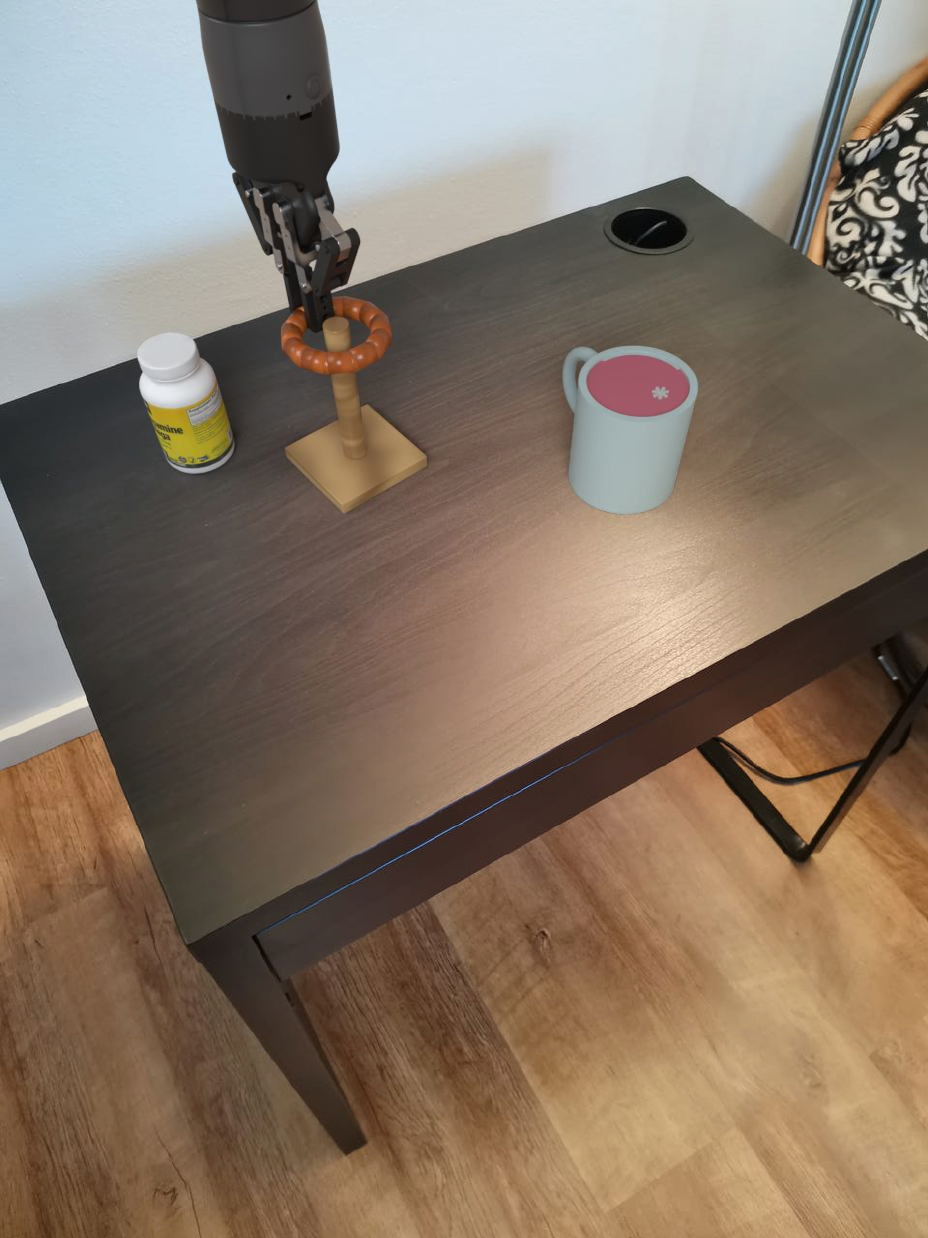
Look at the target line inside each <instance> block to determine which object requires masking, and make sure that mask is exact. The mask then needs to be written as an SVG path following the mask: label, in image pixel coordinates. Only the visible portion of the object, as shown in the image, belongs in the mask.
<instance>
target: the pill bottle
mask: <svg viewBox="0 0 928 1238" xmlns="http://www.w3.org/2000/svg"><path fill="white" fill-rule="evenodd" d="M136 355H137V361H138V364H139V366H140V369H141V371H142V373H141V375H140V377H139V386H138V387H139V392H140V395H141V397H142V400H143V403H144V405H145V408H146V410H147V413H148V415H149V419H150V420H151V424H152V426H153V429H154V432H155V434H156V436H157V439H158V442H159V444H160V447H161V451H162V453H163V454H164V456H165V459H166V461H167V462H168V463H169V465H170V466H171V467H173V469H176V470H177V471H179V472H182V473H185V474H190V475H191V474H192V475H193V474H194V475H195V474H204V473H208V472H212V471H214V470H217V469H218V468H221V466H223V465H224V464H225V463H227V462H228V461H229V460H230V458H231V457H232V455H233V454H234V452H235V451H234V450H235V438H234V434H233V431H232V427H231V423H230V419H229V417H228V413H227V410H226V406H225V403H224V400H223V396H222V393H221V390H220V386H219V383H218V379H217V376H216V374H215V371H214V369H213V367H212V365H210V363H209V362H207V361H206V359H204V358H202V357H201V356H200V352H199V349H198V346H197V343H196V341H195V340H194V339H193V338H192V337H191V336H189V335H187V334H186V333H185V334H184V333H181V332H174V331H173V332H172V331H171V332H169V331H168V332H163V333H158V334H156V335H153V336H151V337H149V338H148V339H147V338H146V340H145V341H143V342H142V344H140V346H139V347H138V349H137V354H136Z"/></svg>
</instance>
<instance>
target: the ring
mask: <svg viewBox="0 0 928 1238" xmlns="http://www.w3.org/2000/svg"><path fill="white" fill-rule="evenodd" d="M332 301H333V307H334V314H335V317H343V318H345V319H347V320H352V321H357V322H361V323H362V324H363V325H365V326H366V327H367V328H369V332H370V334H369V336H368V337H367V339H366V340H365V341H364V342H362V343H361V344H359V345H357V346H355V347H352V349H350V350H346V351H337V352H327V351H324V350H320V349H316V348H312V347H310V346H308V345H307V343H305V342H304V340H303V336H304V334H305V333H306V332H307V330H309V328H308V326H307V323H306V319H305V313H304V308H303V306H302V307H299V308H297V309H296V310H295V311H294V312H293V313H292V314H291V313H290V315H289V316H288V318H287V319H286V320H285V322H284V323H283V324H282V326H280V327H281V328H280V340H281V341H280V343H281V350H282V352H283V354H284V355H286V357H288V358H289V359H290V360H291V361H292V362H293V363H294V364H295V365H296V366H297V367H298V368H300V369H302V370H305V371H309V372H313V373H318V374H322V375H325V376H326V375H327V376H331V375H333V374H342V373H352V372H356V373H357V372H359V371H360V370H363V369H364V368H366V367H369V366H370V365H373V364H375V363H376V362H379V361H380V360H381V358H382V357H383V355H384V354H385V353H386V351H387V350H388V348H389V347H390V345H391V344H392V342H393V332H392V325H391V321H390V318H389V316H388V315H387V314H386V313H385V312H384V311H382V310H381V309H380V308H379V307H377V306H376V305H375V304H374V303H372V302H370V301H368V300H364V299H360V298H355V297H351V296H346V295H343V296H341V295H340V296H332Z"/></svg>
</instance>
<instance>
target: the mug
mask: <svg viewBox="0 0 928 1238" xmlns="http://www.w3.org/2000/svg"><path fill="white" fill-rule="evenodd" d="M580 362H585V363H584V364H583V365H582V367H581V369H580V371H579V374H578V379H577V378H576V377H577V376H576V374H577V373H576V372H577V366H578V364H579V363H580ZM561 372H562V374H561V376H562V377H561V379H562V380H561V381H562V387H563V391H564V395H565V399H566V401H567V403H568V406H569V408H570V410H571V411H572V413H573V415H574V418H573V425H572V426H573V427H572V435H571V442H570V443H571V444H570V453H569V460H568V461H569V462H568V473H567V475H568V476H567V477H568V482H569V485H570V486H571V489H572V490H573V492H574V493H575V494H576V495H577V496H578V498H580V499H581V500H582V501H583V502H584V503H586V504H587V505H589V506H591V507H592V508H595V509H597V510H600V511H603V512H606V513H611V514H617V515H618V514H619V515H635V514H642V513H646V512H649V511H651V510H653V509H655V508H658V507H659V506H660V505H662V504H663V503H664V502H666V501H667V500H668V499H669V498H670V496H671V495H672V493H673V491H674V488H675V485H676V480H677V477H678V472H679V470H680V469H679V468H680V465H681V461H682V457H683V452H684V450H685V449H684V448H685V446H686V445H685V444H686V441H687V436H688V434H689V433H688V432H689V429H690V424H691V420H692V417H693V412H694V408H695V404H696V400H697V397H698V392H699V384H698V383H699V381H698V379H697V376H696V374H695V371H693V370H692V368H691V367H690V366H689V365H688V364H687V363H686V362H685V361H683V360H682V359H681V358H680V357H678V356H676V355H675V354H672V353H670V352H668V351H666V350H663V349H660V348H656V347H650V346H645V345H622V346H616V347H611V348H609V349H605V350H603V351H601V352H597V351H596V350H595V349H593V348H591V347H588V346H578V347H575V348H573V349H572V350H571V351H570V352H569V353H567V355H566V357H565V359H564V361H563V365H562V370H561Z"/></svg>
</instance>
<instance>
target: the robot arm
mask: <svg viewBox="0 0 928 1238" xmlns="http://www.w3.org/2000/svg"><path fill="white" fill-rule="evenodd" d="M195 4H196V7H197V13H198V19H199V20H198V21H199V30H200V40H201V47H202V52H203V53H202V54H203V58H204V62H205V68H206V71H207V75H208V80H209V84H210V90H211V93H212V97H213V102H214V106H215V112H216V114H217V115H216V116H217V119H218V120H217V121H218V124H219V128H220V132H221V137H222V142H223V146H224V150H225V154H226V155H225V156H226V159H227V161H228V164H229V165H230V167H231V168H232V169H233V170H234V172H232V173H231V177H232V182H233V185H234V187H235V188H236V191H237V193H238V195H239V197H240V201H241V203H242V205H243V208H244V209H245V212H246V214H247V216H248V219H249V222H250V223H251V226H252V228H253V231H254V233H255V235H256V238H257V240H258V242H259V244H260V247H261V250H262V251H263V253H264V254H265V256H267V257H269V256H271V255H273V260H274V264H275V268H276V269H277V271H278V272H279V273H280V274H281V275H282V278H283V282H284V288H285V293H286V298H287V302H288V308H289V312H290V315H291V314H292V313H293V312H294V311H295V310H296V309H297V308H299V307H302V306H303V308H304V313H305V319H306V323H307V326H308V330H309V331H311V332H313V333H314V334H317V333H320V332H322V331H323V323H324V321H325V320H327V319H328V318H331V317H335V314H334V307H333V301H332V297H333V296H332V291H334V290H336V289H338V288H342V287H344V286H346V285H348V283H349V280H350V277H351V274H352V271H353V268H354V264H355V262H356V258H357V255H358V252H359V250H360V247H361V236H360V235H359V232H358V231H357V230H356V229H355V227H350V228H348V229H346V230H344V229H343V227H342V226H341V224H340V223H339V222H338V220H337V218H336V217H335V216H334V213H335V208H336V207H335V201H334V197H333V194H332V192H331V189H330V186H329V182H328V174H329V173H330V170H331V168H332V167H333V165H334V164H335V163H336V162H337V159H338V157H339V155H340V150H341V143H340V136H339V127H338V121H337V120H338V119H337V112H336V104H335V95H334V88H333V87H334V86H333V81H332V79H333V78H332V72H331V64H330V56H329V48H328V47H329V46H328V40H327V36H326V32H325V31H326V30H325V28H324V27H325V26H324V23H323V19H322V15H321V11H320V7H319V1H318V0H195ZM314 261H315V264H314V268H313V267H312V266H311V265H310V264H311V263H312V262H314Z"/></svg>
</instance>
